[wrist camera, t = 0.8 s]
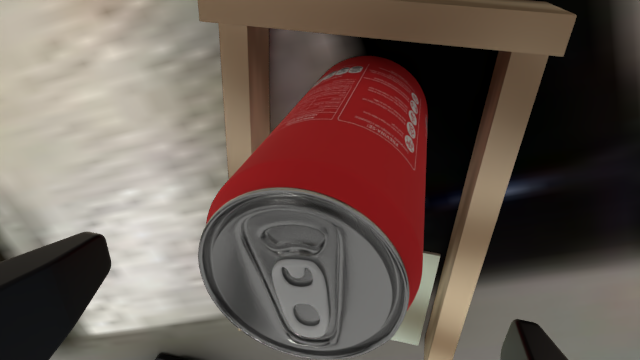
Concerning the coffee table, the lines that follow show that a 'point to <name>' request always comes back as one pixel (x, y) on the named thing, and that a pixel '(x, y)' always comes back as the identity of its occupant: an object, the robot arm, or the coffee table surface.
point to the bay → (422, 27)
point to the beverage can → (326, 218)
